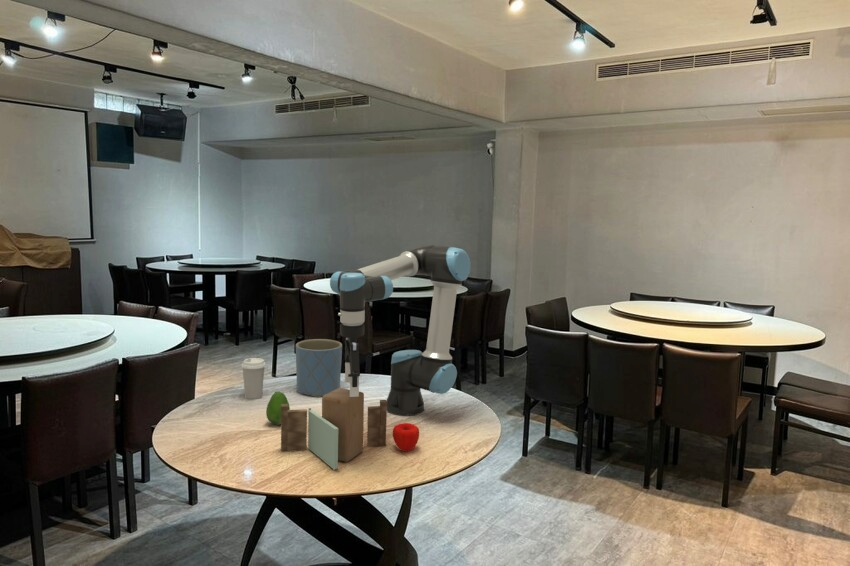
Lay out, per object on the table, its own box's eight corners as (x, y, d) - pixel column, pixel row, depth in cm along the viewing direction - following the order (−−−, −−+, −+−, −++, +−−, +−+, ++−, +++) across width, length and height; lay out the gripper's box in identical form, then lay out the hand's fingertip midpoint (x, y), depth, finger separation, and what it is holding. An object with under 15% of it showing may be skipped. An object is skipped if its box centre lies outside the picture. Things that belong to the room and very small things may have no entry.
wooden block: (347, 463, 176) (348, 400, 174) (320, 456, 181) (320, 395, 178) (364, 451, 185) (365, 391, 183) (338, 445, 190) (338, 386, 187)
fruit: (272, 418, 210) (272, 386, 208) (293, 421, 209) (293, 389, 207) (262, 426, 202) (262, 393, 201) (283, 429, 201) (283, 396, 199)
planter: (319, 401, 230) (320, 352, 227) (285, 391, 240) (285, 344, 237) (350, 389, 246) (351, 343, 243) (317, 380, 256) (318, 336, 253)
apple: (393, 442, 194) (393, 420, 192) (419, 443, 193) (420, 421, 192) (390, 454, 185) (391, 430, 184) (418, 455, 184) (419, 432, 183)
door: (337, 468, 172) (338, 427, 170) (334, 469, 171) (334, 428, 169) (310, 446, 187) (311, 407, 185) (307, 447, 186) (307, 408, 184)
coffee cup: (247, 391, 237) (247, 356, 235) (269, 393, 236) (269, 358, 234) (236, 399, 228) (236, 362, 226) (259, 401, 227) (259, 364, 225)
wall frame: (384, 442, 193) (385, 399, 191) (385, 445, 191) (387, 402, 189) (281, 448, 185) (281, 403, 183) (280, 451, 183) (281, 406, 181)
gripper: (336, 314, 189) (336, 377, 192) (343, 333, 165) (343, 403, 169) (359, 314, 191) (358, 375, 194) (369, 332, 167) (369, 402, 170)
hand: (351, 389), depth 181 cm, fingers open, 13 cm apart
